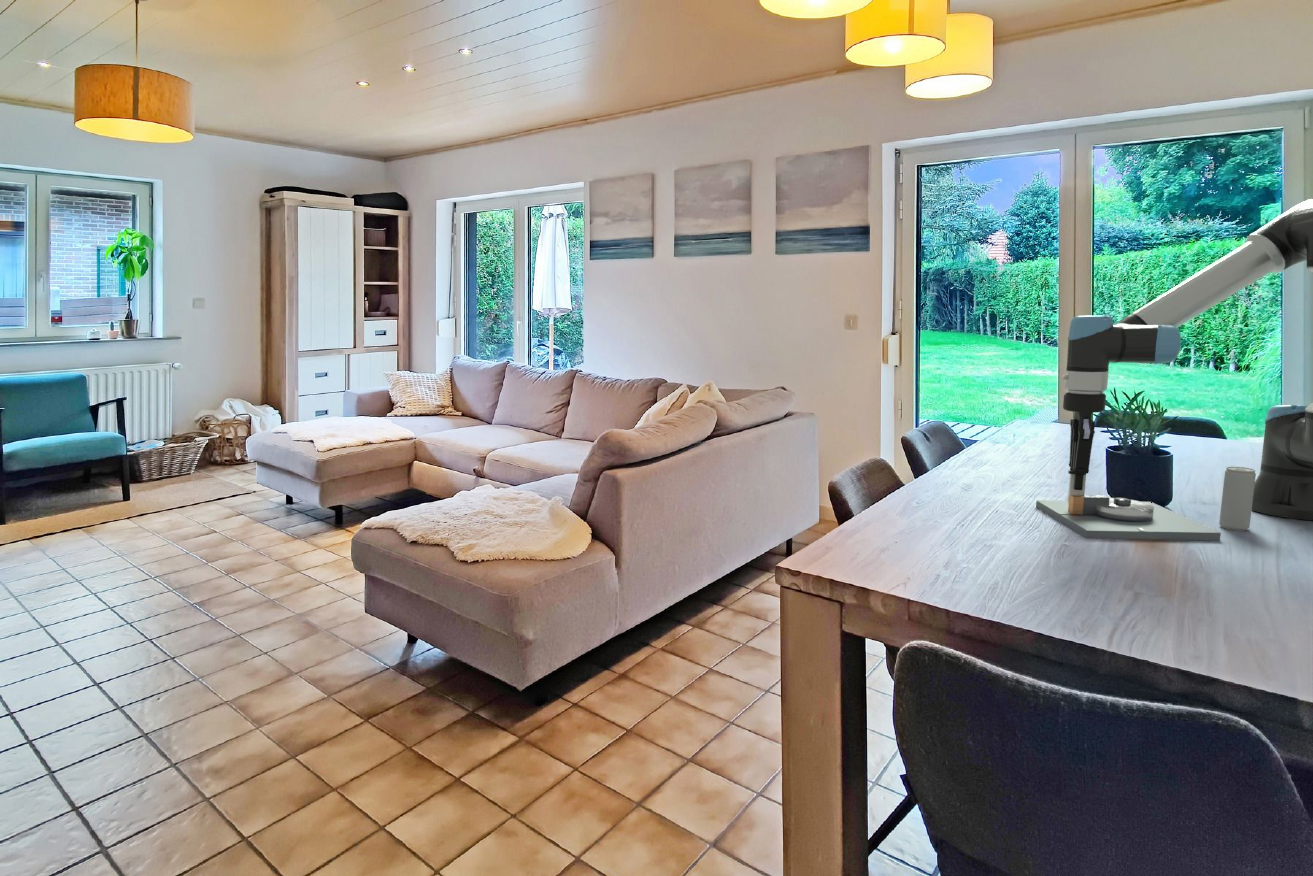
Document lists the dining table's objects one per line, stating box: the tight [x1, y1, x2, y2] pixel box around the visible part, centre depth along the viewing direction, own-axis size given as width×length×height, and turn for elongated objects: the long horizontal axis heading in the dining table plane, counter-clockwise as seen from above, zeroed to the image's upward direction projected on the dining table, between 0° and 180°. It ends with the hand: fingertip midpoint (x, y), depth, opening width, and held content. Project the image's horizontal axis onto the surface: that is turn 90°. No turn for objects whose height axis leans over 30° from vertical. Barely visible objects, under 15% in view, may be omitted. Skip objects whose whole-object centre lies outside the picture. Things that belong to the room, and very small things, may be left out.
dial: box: [1068, 494, 1154, 521], centre depth 154 cm, size 16×11×4 cm
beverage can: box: [1218, 466, 1257, 532], centre depth 149 cm, size 5×5×12 cm
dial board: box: [1035, 499, 1222, 541], centre depth 155 cm, size 24×24×2 cm
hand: (1075, 503), depth 158 cm, fingers closed
